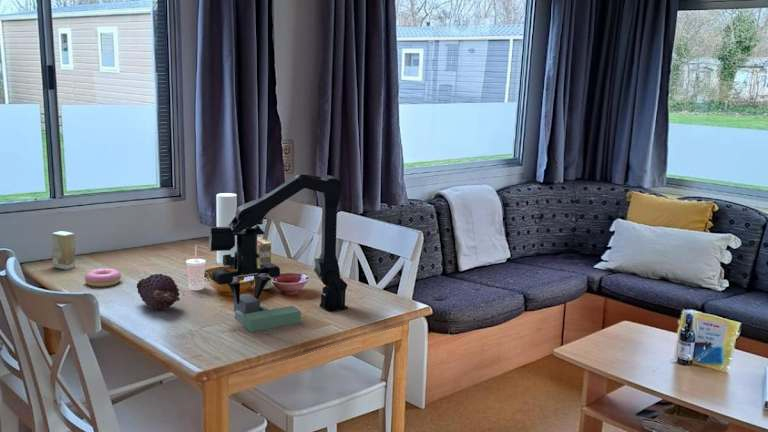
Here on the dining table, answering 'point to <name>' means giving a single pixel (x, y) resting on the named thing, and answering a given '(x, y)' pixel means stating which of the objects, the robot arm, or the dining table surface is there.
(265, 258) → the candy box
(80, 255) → the dining table surface
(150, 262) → the dining table surface
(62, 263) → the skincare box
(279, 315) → the green and blue-gray block
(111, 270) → the doughnut
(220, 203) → the cylindrical container
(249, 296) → the slate gray cuboid
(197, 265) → the beverage cup
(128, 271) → the dining table surface
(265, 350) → the dining table surface
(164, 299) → the pine cone
